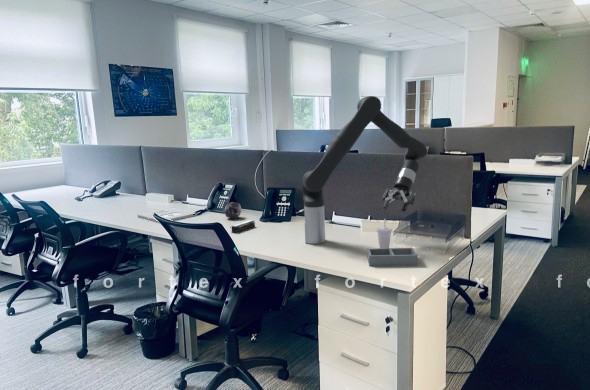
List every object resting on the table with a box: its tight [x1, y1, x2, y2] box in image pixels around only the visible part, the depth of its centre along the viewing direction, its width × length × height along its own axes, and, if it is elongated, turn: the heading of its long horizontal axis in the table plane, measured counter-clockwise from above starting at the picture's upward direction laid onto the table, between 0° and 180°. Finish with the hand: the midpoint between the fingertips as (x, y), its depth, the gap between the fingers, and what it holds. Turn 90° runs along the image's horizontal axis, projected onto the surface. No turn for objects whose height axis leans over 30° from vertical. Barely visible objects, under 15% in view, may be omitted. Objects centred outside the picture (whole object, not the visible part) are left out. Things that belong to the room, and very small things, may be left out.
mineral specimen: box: [224, 201, 242, 219], centre depth 254 cm, size 10×10×10 cm
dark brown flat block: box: [229, 219, 256, 234], centre depth 228 cm, size 14×25×4 cm, turn 144°
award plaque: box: [137, 207, 198, 224], centre depth 269 cm, size 25×30×2 cm
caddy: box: [366, 247, 418, 267], centre depth 167 cm, size 18×10×4 cm, turn 85°
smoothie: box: [376, 218, 393, 248], centre depth 180 cm, size 6×6×14 cm
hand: (393, 210), depth 185 cm, fingers open, 8 cm apart
